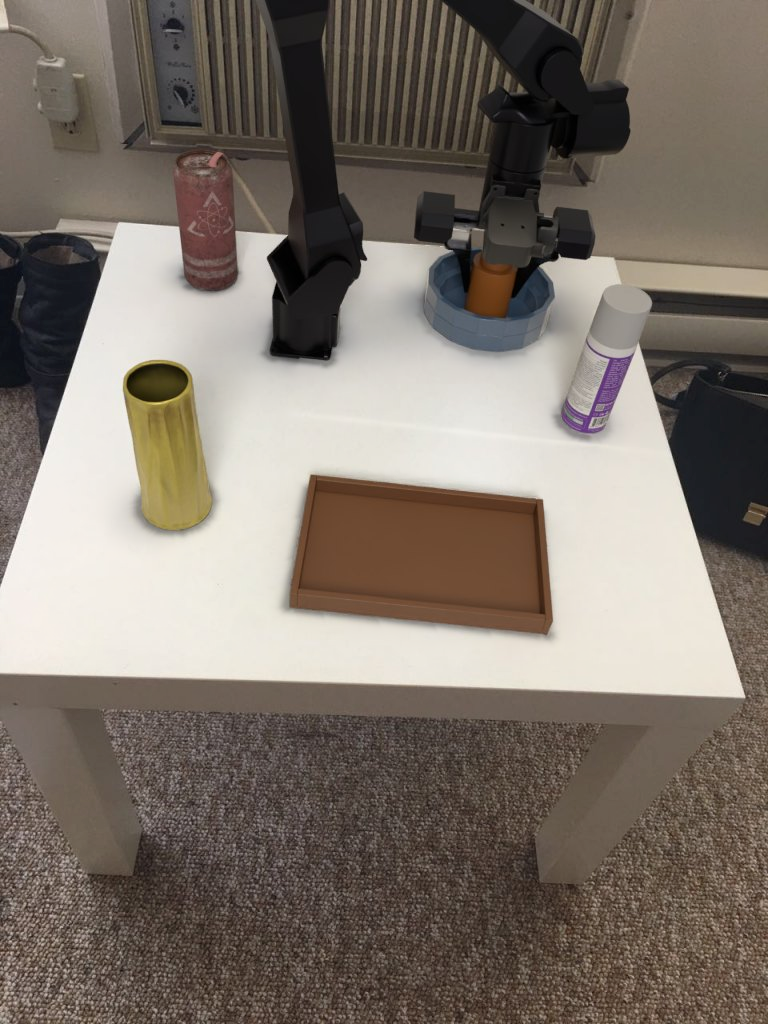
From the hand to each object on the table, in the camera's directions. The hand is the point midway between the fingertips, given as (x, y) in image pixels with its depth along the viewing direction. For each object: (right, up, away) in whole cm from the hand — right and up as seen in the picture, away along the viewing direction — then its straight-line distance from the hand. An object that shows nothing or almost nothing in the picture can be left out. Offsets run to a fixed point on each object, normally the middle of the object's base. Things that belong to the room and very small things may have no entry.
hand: (488, 293), depth 93 cm
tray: (-9, -29, -22) cm, 37 cm away
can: (-32, +3, +3) cm, 32 cm away
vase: (-30, -24, -20) cm, 44 cm away
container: (+9, -16, -8) cm, 20 cm away
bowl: (0, -2, +2) cm, 3 cm away
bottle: (0, -2, +2) cm, 3 cm away
